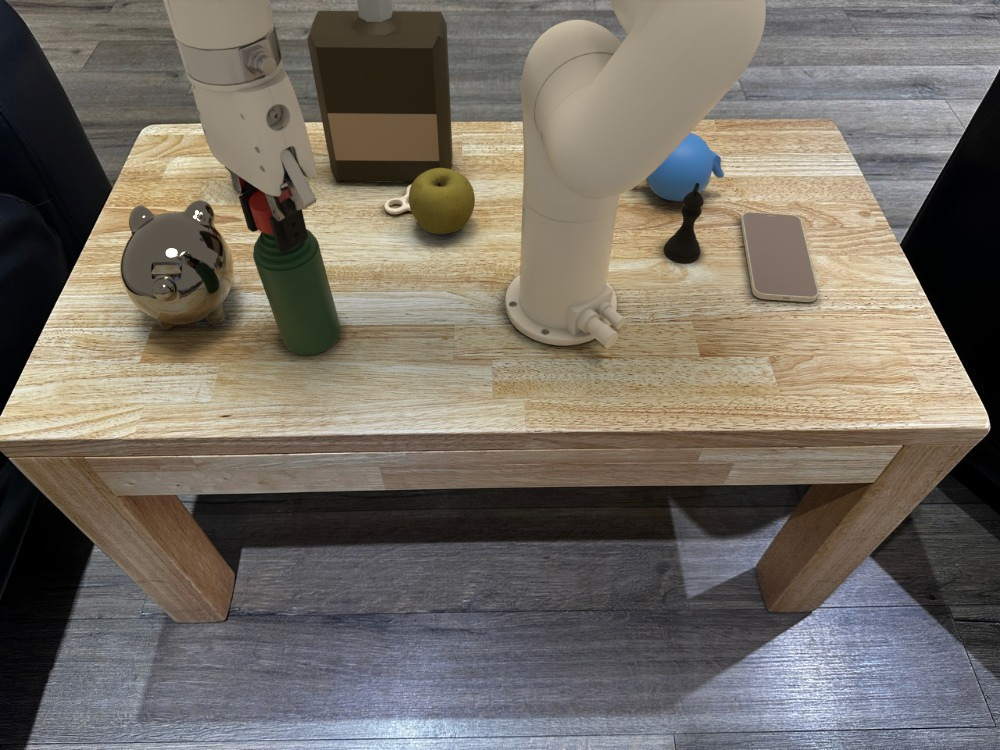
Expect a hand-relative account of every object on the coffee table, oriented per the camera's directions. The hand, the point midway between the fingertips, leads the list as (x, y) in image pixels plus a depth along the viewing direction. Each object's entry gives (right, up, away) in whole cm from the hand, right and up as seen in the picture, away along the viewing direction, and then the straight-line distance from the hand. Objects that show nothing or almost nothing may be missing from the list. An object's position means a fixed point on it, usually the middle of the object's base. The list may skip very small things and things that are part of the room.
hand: (278, 233), depth 75 cm
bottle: (+7, +14, +32) cm, 35 cm away
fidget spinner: (+10, +8, +26) cm, 29 cm away
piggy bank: (-13, -6, +14) cm, 20 cm away
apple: (+14, +5, +23) cm, 28 cm away
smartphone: (+55, 0, +20) cm, 58 cm away
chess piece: (+44, +1, +21) cm, 48 cm away
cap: (0, +2, -3) cm, 4 cm away
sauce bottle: (+1, -9, +11) cm, 14 cm away
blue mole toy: (+44, +11, +29) cm, 54 cm away
